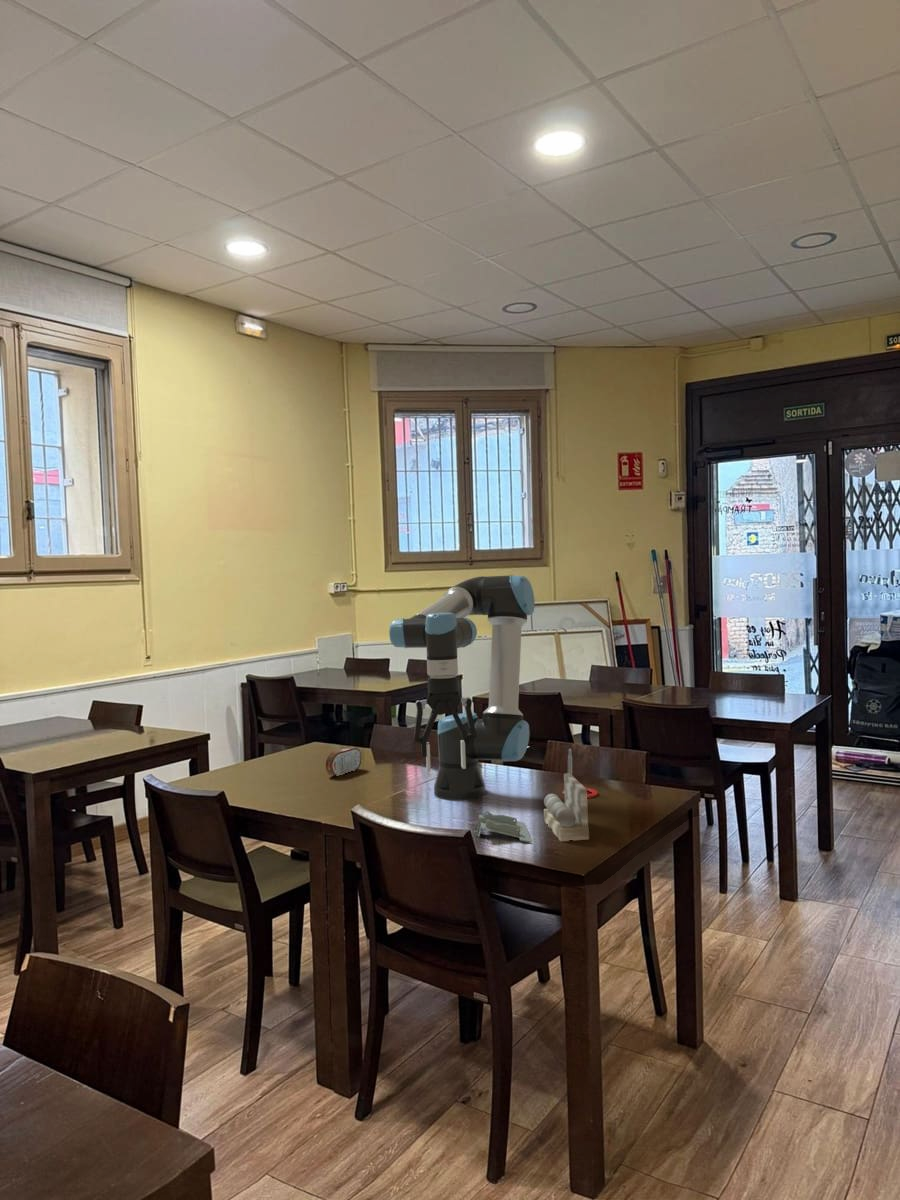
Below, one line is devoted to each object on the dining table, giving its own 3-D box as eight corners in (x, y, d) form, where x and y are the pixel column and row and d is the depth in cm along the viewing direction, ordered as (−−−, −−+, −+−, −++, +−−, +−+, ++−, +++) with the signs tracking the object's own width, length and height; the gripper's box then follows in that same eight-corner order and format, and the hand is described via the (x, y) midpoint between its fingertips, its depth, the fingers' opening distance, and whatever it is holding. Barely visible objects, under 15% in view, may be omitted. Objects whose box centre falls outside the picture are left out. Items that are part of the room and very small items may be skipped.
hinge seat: (544, 820, 213) (542, 774, 213) (570, 818, 214) (569, 772, 214) (560, 841, 196) (558, 791, 196) (589, 839, 197) (587, 789, 197)
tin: (356, 768, 278) (355, 743, 278) (363, 769, 276) (362, 744, 276) (325, 778, 266) (324, 752, 266) (332, 779, 264) (331, 753, 264)
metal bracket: (481, 822, 195) (477, 804, 210) (475, 846, 195) (471, 826, 210) (539, 836, 196) (531, 818, 211) (533, 860, 196) (525, 839, 211)
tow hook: (602, 795, 237) (575, 789, 243) (603, 751, 236) (575, 746, 242) (587, 802, 230) (559, 795, 236) (588, 756, 229) (559, 751, 235)
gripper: (401, 680, 195) (404, 775, 196) (487, 675, 198) (490, 769, 199) (399, 676, 203) (402, 767, 204) (482, 672, 205) (485, 762, 206)
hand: (446, 768), depth 201 cm, fingers open, 8 cm apart
